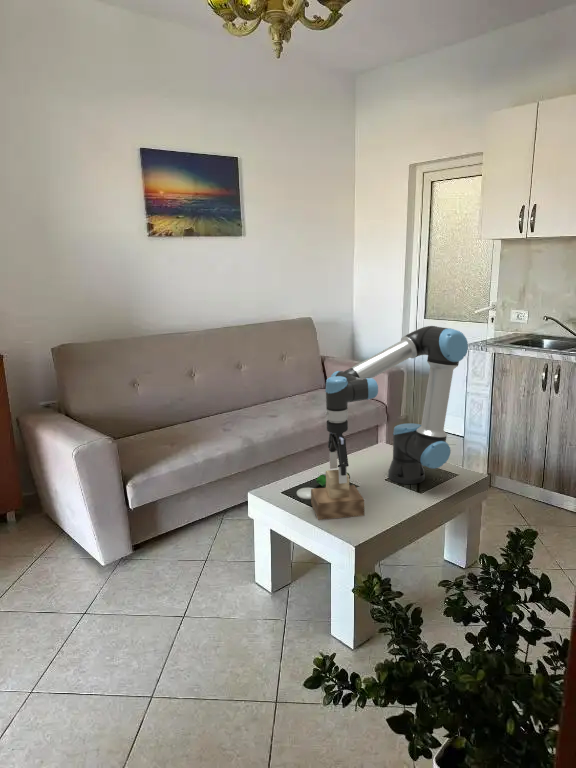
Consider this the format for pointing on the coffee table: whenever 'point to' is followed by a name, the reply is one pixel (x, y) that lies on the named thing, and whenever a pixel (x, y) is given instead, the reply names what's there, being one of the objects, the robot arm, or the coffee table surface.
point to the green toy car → (323, 479)
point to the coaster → (304, 493)
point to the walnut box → (337, 504)
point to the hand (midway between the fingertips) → (338, 475)
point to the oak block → (336, 485)
